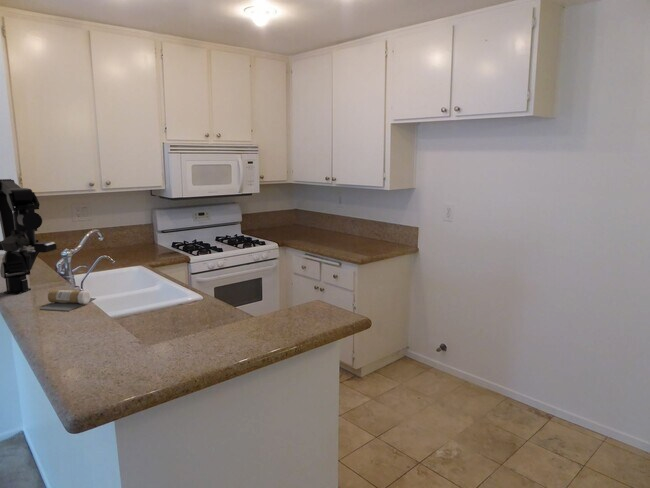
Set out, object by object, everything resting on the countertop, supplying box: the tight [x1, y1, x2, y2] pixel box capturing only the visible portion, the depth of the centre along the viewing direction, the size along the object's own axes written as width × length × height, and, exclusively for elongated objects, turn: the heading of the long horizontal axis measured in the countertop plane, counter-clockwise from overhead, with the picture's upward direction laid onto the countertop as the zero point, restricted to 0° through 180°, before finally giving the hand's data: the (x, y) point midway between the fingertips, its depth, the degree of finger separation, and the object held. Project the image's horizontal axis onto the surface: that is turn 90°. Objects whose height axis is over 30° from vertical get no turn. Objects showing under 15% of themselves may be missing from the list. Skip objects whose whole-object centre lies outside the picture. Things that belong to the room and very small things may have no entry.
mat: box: [39, 297, 97, 312], centre depth 162 cm, size 11×14×1 cm
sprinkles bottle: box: [47, 289, 91, 305], centre depth 162 cm, size 5×5×13 cm
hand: (29, 270), depth 162 cm, fingers closed
